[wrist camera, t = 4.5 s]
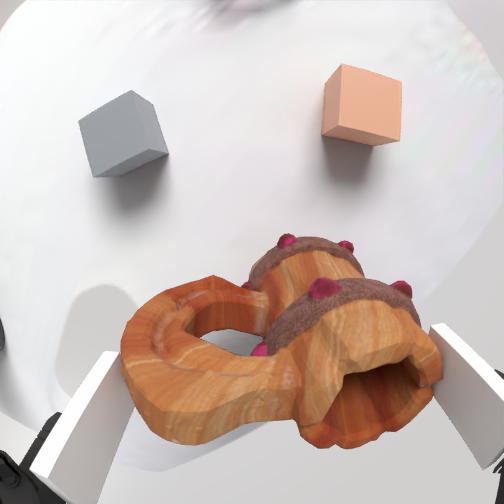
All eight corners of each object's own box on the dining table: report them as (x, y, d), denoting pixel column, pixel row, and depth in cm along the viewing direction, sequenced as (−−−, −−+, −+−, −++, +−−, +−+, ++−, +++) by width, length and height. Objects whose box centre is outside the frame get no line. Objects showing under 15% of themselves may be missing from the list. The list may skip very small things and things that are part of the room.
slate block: (121, 176, 23) (93, 177, 18) (106, 128, 21) (78, 121, 16) (169, 153, 22) (149, 148, 17) (153, 104, 21) (131, 89, 16)
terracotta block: (321, 134, 22) (338, 125, 17) (325, 83, 20) (341, 63, 16) (373, 146, 22) (400, 140, 17) (376, 96, 21) (401, 82, 16)
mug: (362, 234, 21) (506, 318, 7) (341, 324, 23) (424, 455, 9) (176, 213, 20) (59, 297, 6) (173, 312, 22) (114, 466, 8)
